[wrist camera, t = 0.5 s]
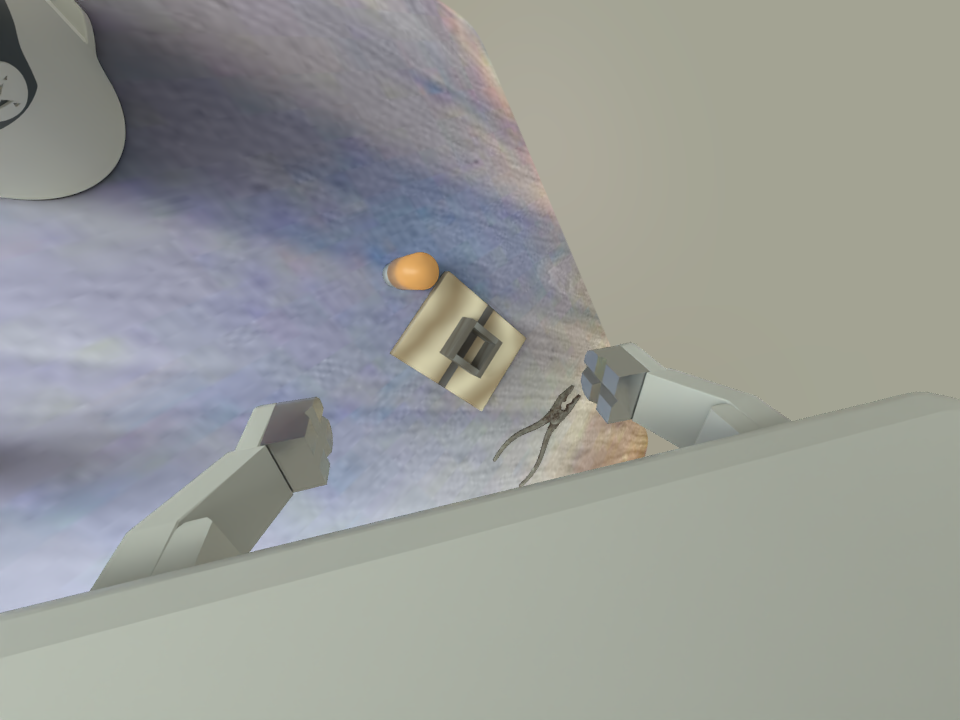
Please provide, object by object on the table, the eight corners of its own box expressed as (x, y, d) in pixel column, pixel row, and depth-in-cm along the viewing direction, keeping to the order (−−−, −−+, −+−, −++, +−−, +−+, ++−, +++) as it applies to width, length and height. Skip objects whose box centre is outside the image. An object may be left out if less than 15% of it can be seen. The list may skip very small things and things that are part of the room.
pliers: (488, 470, 54) (552, 366, 57) (485, 467, 55) (548, 365, 58) (525, 490, 59) (582, 394, 62) (522, 487, 60) (579, 392, 62)
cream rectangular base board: (389, 353, 43) (399, 359, 40) (444, 271, 45) (459, 269, 41) (476, 408, 51) (492, 417, 48) (520, 337, 53) (538, 340, 49)
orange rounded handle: (373, 277, 41) (397, 274, 32) (390, 253, 41) (417, 244, 33) (398, 295, 43) (426, 297, 34) (414, 272, 43) (445, 268, 35)
